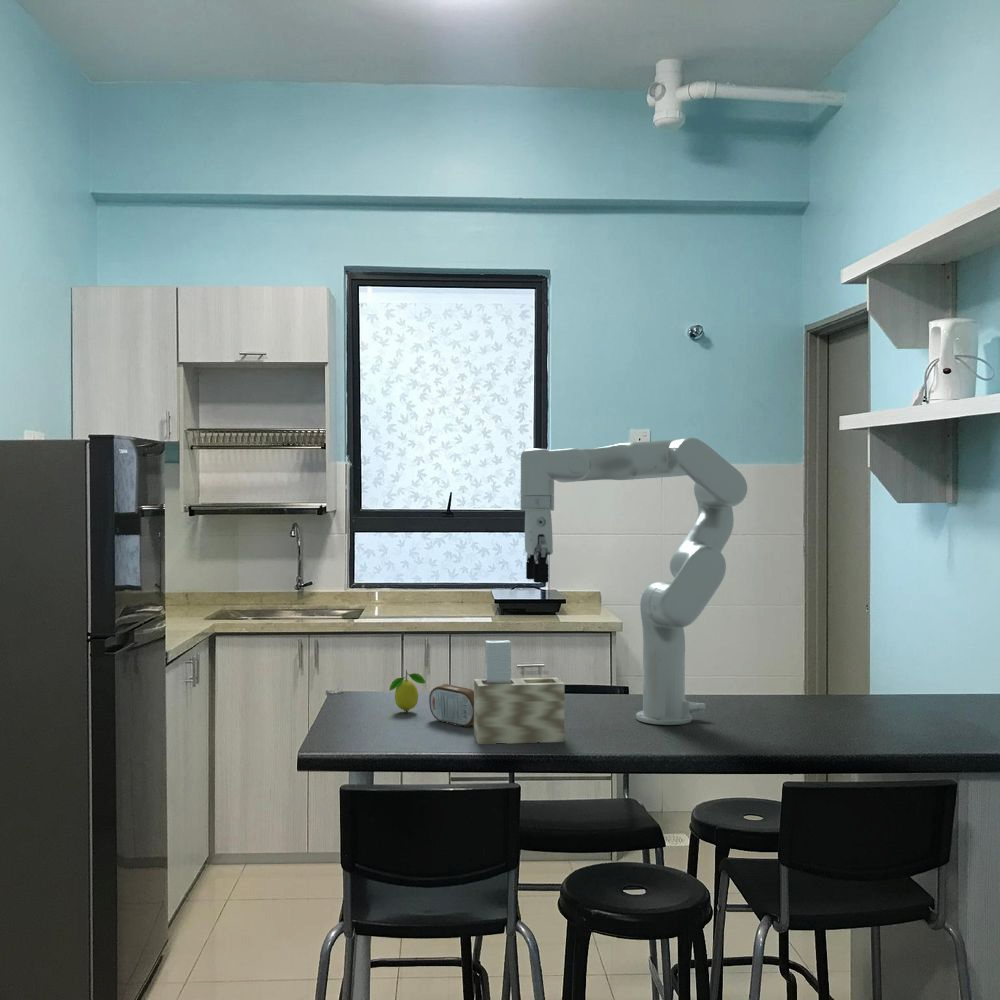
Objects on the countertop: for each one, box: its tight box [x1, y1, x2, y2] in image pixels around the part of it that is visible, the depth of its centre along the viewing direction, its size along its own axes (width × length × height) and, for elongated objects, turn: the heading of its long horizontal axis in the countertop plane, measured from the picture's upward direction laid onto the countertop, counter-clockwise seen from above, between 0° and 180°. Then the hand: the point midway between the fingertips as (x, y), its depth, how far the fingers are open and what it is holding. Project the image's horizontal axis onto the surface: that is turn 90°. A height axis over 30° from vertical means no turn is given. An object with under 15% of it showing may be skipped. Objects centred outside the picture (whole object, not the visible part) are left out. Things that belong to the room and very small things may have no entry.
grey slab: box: [484, 640, 512, 684], centre depth 210 cm, size 5×3×12 cm, turn 98°
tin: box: [428, 683, 474, 728], centre depth 225 cm, size 15×3×8 cm, turn 47°
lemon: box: [389, 669, 426, 712], centre depth 238 cm, size 7×6×10 cm
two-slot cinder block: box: [473, 677, 565, 745], centre depth 211 cm, size 18×8×12 cm, turn 98°
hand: (537, 580), depth 224 cm, fingers open, 9 cm apart
